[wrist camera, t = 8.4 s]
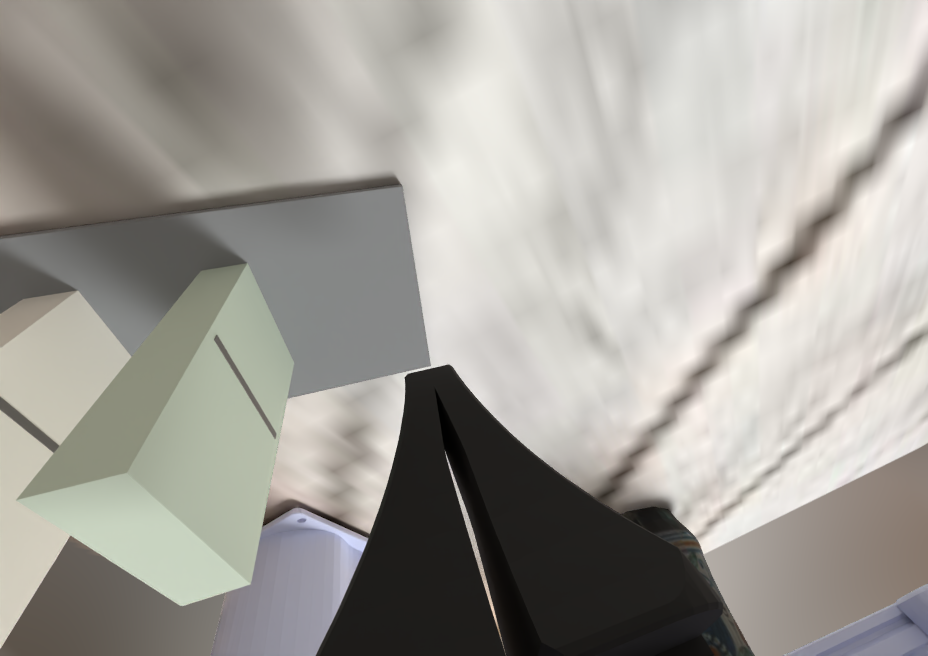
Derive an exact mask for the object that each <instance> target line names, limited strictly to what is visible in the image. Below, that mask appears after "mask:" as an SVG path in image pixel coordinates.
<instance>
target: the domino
mask: <svg viewBox="0 0 928 656" xmlns="http://www.w3.org/2000/svg"><path fill="white" fill-rule="evenodd" d="M130 358H131V355H130V354H129V353H128V352H127V350H126V349H125V348H124V347H123V345H122V344H121V343H120V342H119V341H118V339H117V338H116V337H115V336H114V334H113V333H112V332H111V331H110V329H109V328H108V327H107V326H106V324H105V323H104V322H103V321H102V319H101V318H100V317H99V316H98V315H97V313H96V312H95V311H94V310H93V308H92V307H91V306H90V305H89V303H88V302H87V301H86V300H85V298H84V297H83V296H82V295H81V294H80V292H79V291H78V290H77V291H71V292H65V293H58V294H52V295H46V296H39V297H33V298H27V299H23V300H21V301H19V302H18V303H16V304H15V305H13V306H12V307H10V308H9V309H7V310H6V311H4V312H3V313H1V314H0V648H1V647H2V645H3V643H4V642H5V640H6V639H7V637H8V635H9V634H10V632H11V630H12V629H13V627H14V626H15V624H16V622H17V621H18V619H19V618H20V616H21V614H22V613H23V611H24V609H25V608H26V606H27V605H28V603H29V601H30V600H31V598H32V597H33V595H34V593H35V592H36V590H37V589H38V587H39V585H40V584H41V582H42V581H43V579H44V577H45V576H46V574H47V573H48V571H49V569H50V567H51V566H52V565H53V563H54V561H55V560H56V558H57V556H58V555H59V553H60V551H61V550H62V548H63V547H64V545H65V544H66V542H67V540H68V539H69V537H70V536H71V535H69V534H68V533H66V532H64V531H63V530H61V529H60V528H58V527H57V526H55V525H53V524H52V523H50V522H49V521H47V520H46V519H44V518H43V517H41V516H39V515H38V514H36V513H35V512H33V511H32V510H30V509H28V508H27V507H25V506H24V505H22V504H21V503H19V502H18V501H16V499H17V498H18V497H19V496H20V494H21V493H22V492H23V491H24V489H25V488H26V487H27V486H28V484H29V483H30V482H31V481H32V480H33V478H34V477H35V476H36V475H37V473H38V472H39V471H40V470H41V468H42V467H43V466H44V465H45V463H46V462H47V461H48V460H49V458H50V457H51V456H52V455H53V454H54V452H55V451H56V450H57V449H58V447H59V446H60V445H61V444H62V442H63V441H64V440H65V439H66V437H67V436H68V435H69V434H70V432H71V431H72V430H73V429H74V427H75V426H76V425H77V424H78V423H79V421H80V420H81V419H82V418H83V416H84V415H85V414H86V413H87V411H88V410H89V409H90V408H91V406H92V405H93V404H94V403H95V401H96V400H97V399H98V398H99V397H100V395H101V394H102V393H103V392H104V390H105V389H106V388H107V387H108V385H109V384H110V383H111V382H112V380H113V379H114V378H115V377H116V375H117V374H118V373H119V372H120V370H121V369H122V368H123V367H124V366H125V364H126V363H127V362H128V361H129V359H130Z"/></svg>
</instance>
